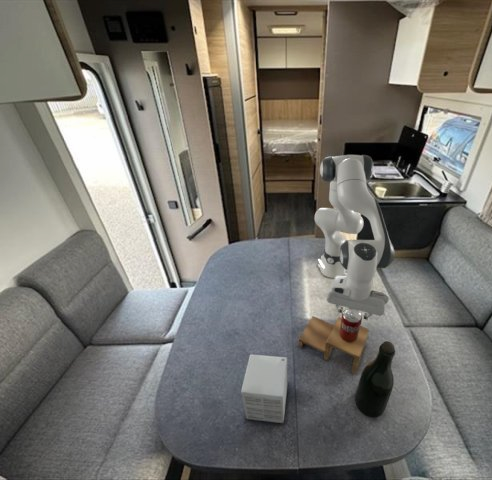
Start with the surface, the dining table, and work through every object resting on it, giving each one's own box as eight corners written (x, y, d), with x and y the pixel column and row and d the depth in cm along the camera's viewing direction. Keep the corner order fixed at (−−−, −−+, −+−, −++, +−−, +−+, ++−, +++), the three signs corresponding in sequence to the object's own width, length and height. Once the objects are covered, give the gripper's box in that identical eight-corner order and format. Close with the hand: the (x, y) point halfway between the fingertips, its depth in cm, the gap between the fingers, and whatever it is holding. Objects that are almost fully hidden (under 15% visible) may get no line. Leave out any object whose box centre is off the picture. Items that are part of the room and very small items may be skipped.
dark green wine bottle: (357, 383, 99) (372, 326, 81) (386, 394, 95) (408, 337, 77) (351, 411, 91) (367, 354, 73) (383, 424, 87) (407, 368, 69)
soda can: (357, 344, 100) (362, 324, 94) (338, 341, 101) (342, 320, 95) (357, 329, 106) (362, 309, 100) (339, 326, 107) (342, 306, 101)
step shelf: (312, 323, 122) (313, 306, 116) (364, 345, 112) (369, 329, 106) (298, 346, 112) (299, 329, 106) (355, 373, 102) (359, 356, 96)
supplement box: (253, 380, 100) (249, 353, 90) (288, 384, 99) (287, 356, 89) (245, 419, 89) (240, 392, 79) (283, 423, 88) (283, 397, 78)
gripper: (390, 288, 89) (382, 315, 97) (330, 275, 95) (327, 302, 102) (389, 301, 84) (381, 329, 92) (327, 286, 90) (324, 313, 97)
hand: (352, 314), depth 97 cm, fingers open, 8 cm apart
